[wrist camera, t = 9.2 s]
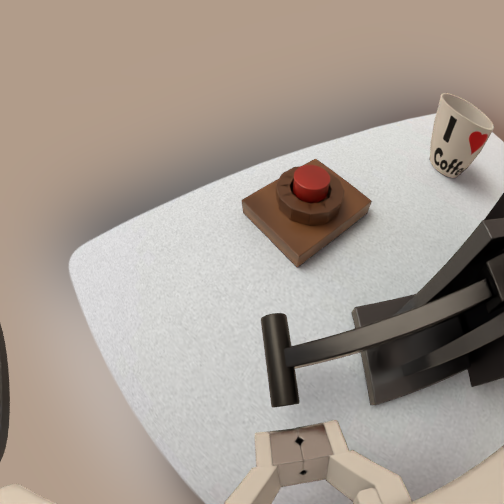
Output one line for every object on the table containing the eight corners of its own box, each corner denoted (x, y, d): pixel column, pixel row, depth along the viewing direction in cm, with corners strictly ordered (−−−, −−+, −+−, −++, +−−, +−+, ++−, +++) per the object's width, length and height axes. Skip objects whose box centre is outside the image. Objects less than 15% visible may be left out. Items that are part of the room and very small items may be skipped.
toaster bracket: (369, 405, 17) (495, 384, 5) (351, 312, 21) (426, 195, 10) (464, 369, 17) (580, 309, 5) (442, 291, 21) (529, 194, 10)
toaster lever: (282, 405, 14) (262, 408, 12) (271, 324, 16) (251, 315, 14) (530, 318, 8) (548, 306, 6) (500, 239, 11) (511, 218, 9)
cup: (418, 168, 30) (442, 106, 22) (421, 140, 34) (439, 87, 25) (467, 194, 28) (498, 138, 19) (465, 163, 31) (488, 113, 23)
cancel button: (310, 209, 23) (312, 194, 22) (285, 188, 25) (286, 174, 23) (334, 192, 24) (337, 178, 23) (310, 173, 26) (312, 160, 24)
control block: (297, 268, 24) (300, 245, 21) (243, 212, 27) (239, 188, 24) (367, 213, 27) (376, 189, 24) (313, 170, 30) (316, 147, 27)
